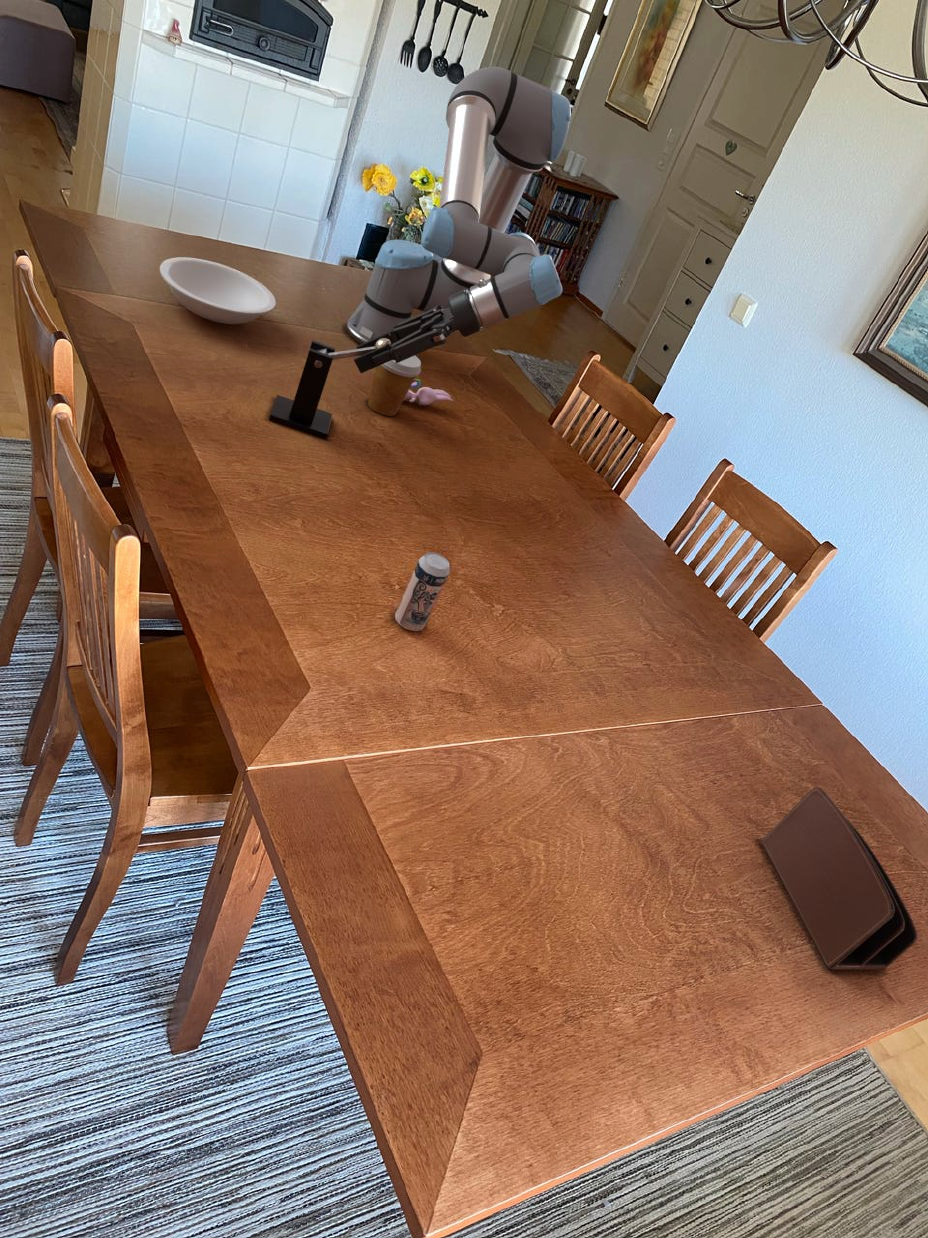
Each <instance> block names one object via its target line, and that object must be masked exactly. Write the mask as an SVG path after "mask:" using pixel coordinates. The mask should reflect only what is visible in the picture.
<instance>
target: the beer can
mask: <svg viewBox="0 0 928 1238" xmlns="http://www.w3.org/2000/svg"><path fill="white" fill-rule="evenodd" d="M450 569H451V568H450V563H449V560H448V559H447V558H446V557H445V556H443V555H442V554H438V553H436V552H426V554H424V555H423V556H421V557H419V559H418V561H417V563H416V566H415V568H414V570H413V572H412V575H411V577H410V580H409V582H408V584H407V586H406V588H405V591H404V593H403V595H402V597H401V600H400V602H399V604H398V608H397V609H396V611H395V614H394V618H395V621H396V622H397V624H398V625H400V626H401V627H402V628H404V629H405V630H408V631H413V632H414V631H415V632H419V631H422V630H423V629H424V628H425V626H426V624H427V622H428V621H429V618H430V617H431V616H430V615H431V614H432V611H433V610H434V607H435V605H436V603H437V601H438V599H439V597H440V594H441V592H442V591H443V588H444V586H445V584H446V581H447V579H448V577H449V575H450V572H451V570H450Z"/></svg>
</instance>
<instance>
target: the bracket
mask: <svg viewBox="0 0 928 1238" xmlns="http://www.w3.org/2000/svg"><path fill="white" fill-rule="evenodd" d="M321 349H327V353H334V352H336V348H335V347H333V346H330V345H327V344H325V343H323V342H322V343H321V342H319V341H316V340H314V339H313V340H311V344H310V347H309V350H308V352H307V357H306V359H305V363H304V366H303V369H302V373H301V376H300V380H299V383H298V386H297V389H296V392H295V396H294V398H293V399H291V398H288V397H285V396H282V395H280V394H277V395H276V397H275V400H274V403H273V406H272V409H271V412H270V415H269V418H268V421H271V422H273V423H276V424H279V425H282V426H285V427H288V428H291V429H294V430H296V431H299V432H303V433H305V434H308V435H311V436H314V437H316V438H320V439H323V440H327V438H328V435H329V431H330V426H331V422H332V417H333V413H331V412H328V411H326V410H323V409H319V408H318V407H319V404H320V401H321V396H322V394H323V392H324V388H325V385H326V382H327V380H328V376H329V372H330V370H331V366H332V363H333V361H334V360H333V356H330V355H327V354H324V353H322V352H319V351H316V350H321Z"/></svg>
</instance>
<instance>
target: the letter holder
mask: <svg viewBox="0 0 928 1238" xmlns="http://www.w3.org/2000/svg"><path fill="white" fill-rule="evenodd" d="M760 843H761V845H762V847H763V849H764V850H765V852H766V854H767V856H768V858H769V860H770V861H771V863H772V865H773V867H774V869H775V870H776V873H777V875H778V876H779V879H780V880H781V883H782V885H783V886H784V889H785V890H786V891H787V894H788V896H789V897H790V899H791V901H792V903H793V906H794V907H795V909H796V912H797V913H798V915H799V917H800V919H801V921H802V922H803V924H804V927H805V928H806V930H807V932H808V934H809V936H810V938H811V941H812V942H813V943H814V946H815V947H816V950H817V951H818V953H819V955H820V956H821V959H822V961H823V963H824V965H825V967H826V969H827V970H828V971H832V970H844V971H846V970H855V971H856V970H857V971H858V970H860V971H863V970H864V971H866V970H868V971H870V970H871V971H872V970H874V971H875V970H880V971H881V970H886V969H887V968H888V967H889V966H891V965H892V964H893V963H894V962H895V961H896V960H897V959H898V958H900V957H901V955H903V954H904V953H905V952H906V951H907V950H908V949H911V947H912V946H913V945H915V944H916V942H917V940H918V931H917V929H916V926H915V923H914V921H913V918H912V916H911V915H910V913H909V910H908V909H907V907H906V905H905V903H904V902H903V900H902V898H901V896H900V894H899V893H898V891H897V889H896V887H895V885H894V884H893V882H892V880H891V878H890V876H889V875H888V873H887V872H886V870H885V868H884V867H883V865H882V863H881V862H880V861H879V859H878V857H877V855H875V853H874V851H873V850H872V849H871V847H870V845H869V844H868V843H867V841H866V840H865V839H864V837H863V836H862V835H861V833H860V832H859V831H858V829H856V827H855V826H854V825H853V823H852V822H851V821H850V820H849V819H848V818H847V817H846V816H844V813H842V811H841V810H840V809H839V807H838V806H837V804H835V802H834V801H833V800H832V799H831V798H830V796H829V795H828V794H827V793H826V792H825V791H824V790H823V789H822V788H821V787H820V786H819V787H818V786H815V787H812V788H811V789H810V790H809V791H808V792H807V793H806V794H805V795H804V796H802V798H801V799H800V801H798V803H797V804H796V805H795V806H793V807H792V808H791V810H790V811H789V812H788V813H786V815H785V816H784V817H783V818H782V819H781V820H780V821H779V822H778V823H777V824H776V825H775V826H774V827H773V828H772V829H771V830H770V831H769V832H768V833H767V834H766V835H765V836H764V837H763V838H762V840H761V841H760Z"/></svg>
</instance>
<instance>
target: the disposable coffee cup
mask: <svg viewBox="0 0 928 1238" xmlns="http://www.w3.org/2000/svg"><path fill="white" fill-rule="evenodd" d="M421 366H422V362H421V359H419V357H418V356H417V355H415V356H412V357H410V358H408V359H406V360H403V361H401V362H399V363H396V362H395V360H391V361H389V362H386V363H384V364H382V365H379V366H377V367H375V368H374V373H373V378H372V383H371V387H370V391H369V396H368V400H367V405H368V407H369V408H370V409H371V410H373V411H374V412H376V413H378V414H380V415H383V416H389V417H392V416H396V415H397V413H398V411H399V409H400V407H401V406H402V404H403V402H404V401H405V400H404V398H405V396H406V394H407V392H408V391H409V389H410V390H411V388H410V387H411V385H412V383H414V382H415V379H417V377H418V375H419V374H421V372H422V367H421Z"/></svg>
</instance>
